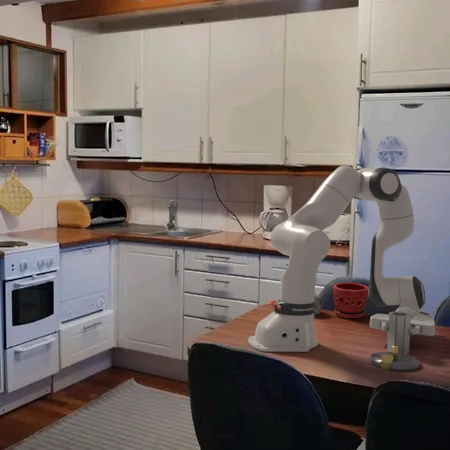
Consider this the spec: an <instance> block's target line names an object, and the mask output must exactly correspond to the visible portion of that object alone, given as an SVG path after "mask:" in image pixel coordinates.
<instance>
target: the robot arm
mask: <svg viewBox="0 0 450 450" xmlns="http://www.w3.org/2000/svg"><path fill="white" fill-rule="evenodd" d="M353 199H355V200H360V201H361V200H363V201H369V202H370V201H372V202H373V201H374V202H376V204H377V205H378V209H379V210H378V211H379V212H378V213H379V220H380V222H379V223H380V224H379V227H378V228H379V229H378V230H377V231H376V233H374V234H373V236H372V240H371V253H370V271H369V285H368V299H369V301H370V302H371V303H372V304H374V305H375V306H377V307H379V308H380V307H388V306H398V307H397V308H396V310H395V311H394V312H405V313H408V314H410V315H411V321H410V335H412V336H415V335H418V336H419V335H421V336H425V337H426V336H427V337H434V336H435V332H436V331H435V330H436V329H435V328H436V327H435V326H436V322H435V319H434V316H433V314H432V313H427V312H425V311H424V308H423V307H424V305H425V304H426V292H425V287H424V283H423V282H422V281H421V280H420V279H419V278H418V277H417V276H415V275H409V276H395V277H392V276H391V277H385V276H384V275H383V274H384V271H383V270H384V256H385V253H386V252H387V250H389V249H390V248H392V247H394V246H396V245H398V244H401V243H403V242H404V241H406V240H408V239H409V238H410V236H411V235H412V234H413V232H414V230H415V218H414V217H415V216H414V209H413V204H412V201H411V197H410V194H409V191H408V189H407V187H406V186H404V185H402V183H401V179H400V176H399V175H398V174H397V172H396V171H395V170H394V169H391V168H388V167H383V166H382V167H374V166H373V167H369V166H368V167H365V168H358V169H355V168H354V167H352V166H348V165H340V166H338V167H337V168H336V169H335V170H334V171H332V172H331V173H330V174H329V175H328V176H327V177H326V178H325V179H324V180H323V182H322V183H321V184H320V185H319V186H318V188H317V189H316V191H315V192H314V193H313V195H312V196H311V197H310V198H309V199H308V201H307V202H306V203H305V204H304V205H303V206H302V207H301V208H299V209H298V210H297V211H296V212H295V213H293V214H292V215H291V216H290V217H288V219H286V220H285V221H283V222H282V223H278V224H277V225H276V226H275V227H274V228H273V229H272V230H271V232H270V233H271V234H270V243H271V245H272V247H273V248H274V249H275V250H276V251H278V252H279V253H281V254H282V255H285V256H287V257H289V259H288V263H287V267H286V269H285V271H284V272H283V273H282V274H281V276H280V285H279V287H280V289H279V291H280V293H279V299H278V300H277V301H276V300H274V299H270V301H269V306H271V307H272V308H273V311H272V312H270V314H269V315H267V316H265V317H263V319H262V320H260V321H259V322H258V323H257V325H256V328H255V333H254V335H252V336H249V337H248V340H247V342H248V344H249V345H250V346H251V347H252V348H253V349H255V350H257V351H259V352H278V353H279V352H284V353H285V352H302V353H303V352H305V353H307V352H310V351H311V349H314V348H315V347H317V346H318V340H317V335H316V328H315V327H316V325H315V317H316V315H315V311H316V307H315V301H314V294H316V292H315V291H316V290H315V289H316V288H315V287H316V278H317V273H318V270H319V267H320V265H321V263H322V260H324V259H325V258H326V257H327V256H328V254H329V252H330V249H331V240H330V237H329V235H328V234H327V233H326V232H325V231H324V230H325V229H327V228H329V227H331V226H332V225H334V224H336V223H337V221H338V220H339V218H340V217H341V215H342V214H343V213H344V212H345V210H346V208H348V206H349V205H350V203H351V201H352V200H353ZM369 319H370V320H369V327H370V328H371V329H376V330H382V331H383V332H388V321H389V314H385V313H375V314H373V315H371V316H370V318H369Z"/></svg>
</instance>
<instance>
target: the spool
mask: <svg viewBox="0 0 450 450" xmlns="http://www.w3.org/2000/svg"><path fill="white" fill-rule="evenodd" d="M314 301H315V307H316V311H315V316H318V315H320V313H321V312H322V309H323V301H322V299H321V297H320V296H319V295H318V294H316V293H315V294H314Z"/></svg>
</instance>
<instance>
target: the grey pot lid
mask: <svg viewBox="0 0 450 450" xmlns="http://www.w3.org/2000/svg"><path fill="white" fill-rule="evenodd" d="M369 361H370V363H371V364H372V365H373V366H375V367H377V368H379V369H380V370H382V371H392V372H393V371H394V372H412V371H415V370H418V369H419V368H420V359H418V358H417V357H415V356H412V355H410V354H403V353H398V346H397V345H393V348H392V352H388V351H378V352H374V353H372V354H371V355H370V358H369Z"/></svg>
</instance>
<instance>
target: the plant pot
mask: <svg viewBox="0 0 450 450" xmlns="http://www.w3.org/2000/svg"><path fill="white" fill-rule="evenodd" d="M368 289H369V286H367V285H365V284H364V285H363V284H360V283H356V282H338V283H335V284H334V285H333V290H332V291H333V303H334V306H335V308H334V313H335V315H336V316H338V317H341V318H343V317H344V319H350V318H355V319H359V318H363V317H364V315H365V314H366V312H365V311H364V309H365V308H366V305H367V302H368V298H369V295H368Z"/></svg>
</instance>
